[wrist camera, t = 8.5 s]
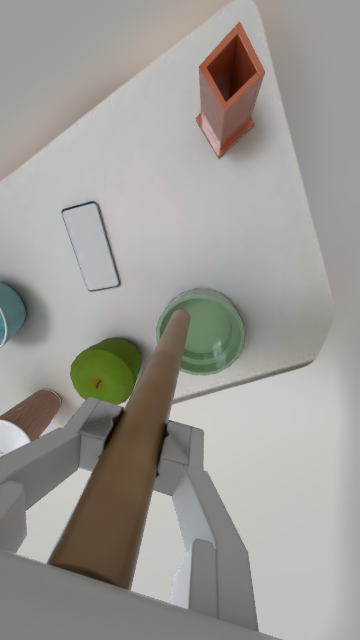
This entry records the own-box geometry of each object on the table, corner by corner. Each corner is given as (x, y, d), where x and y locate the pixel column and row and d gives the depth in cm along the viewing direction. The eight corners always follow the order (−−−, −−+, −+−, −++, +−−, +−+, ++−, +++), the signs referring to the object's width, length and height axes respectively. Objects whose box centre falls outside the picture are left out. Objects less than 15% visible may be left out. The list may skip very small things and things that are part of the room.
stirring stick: (194, 320, 21) (146, 609, 4) (179, 330, 22) (83, 618, 5) (183, 305, 21) (81, 558, 4) (168, 315, 21) (22, 574, 4)
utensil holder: (253, 126, 29) (274, 72, 20) (218, 158, 31) (222, 122, 22) (231, 84, 28) (242, 7, 19) (195, 120, 30) (190, 65, 21)
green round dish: (254, 335, 40) (261, 349, 34) (191, 370, 44) (189, 387, 39) (210, 271, 37) (211, 276, 31) (148, 316, 41) (139, 326, 36)
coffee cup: (37, 413, 56) (-6, 455, 44) (26, 382, 52) (-24, 419, 41) (71, 415, 54) (36, 459, 43) (62, 383, 51) (21, 422, 40)
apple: (127, 320, 42) (100, 345, 32) (158, 366, 45) (142, 402, 35) (84, 344, 46) (47, 373, 35) (115, 385, 49) (89, 423, 38)
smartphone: (95, 200, 35) (119, 286, 39) (96, 200, 35) (120, 285, 40) (60, 209, 36) (87, 291, 40) (62, 210, 36) (89, 291, 41)
